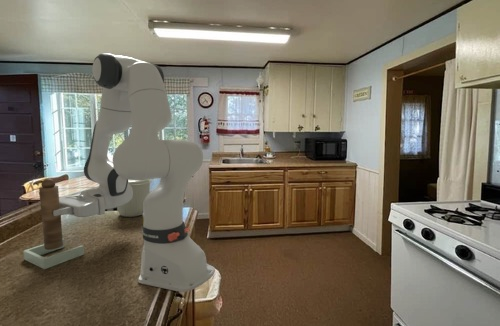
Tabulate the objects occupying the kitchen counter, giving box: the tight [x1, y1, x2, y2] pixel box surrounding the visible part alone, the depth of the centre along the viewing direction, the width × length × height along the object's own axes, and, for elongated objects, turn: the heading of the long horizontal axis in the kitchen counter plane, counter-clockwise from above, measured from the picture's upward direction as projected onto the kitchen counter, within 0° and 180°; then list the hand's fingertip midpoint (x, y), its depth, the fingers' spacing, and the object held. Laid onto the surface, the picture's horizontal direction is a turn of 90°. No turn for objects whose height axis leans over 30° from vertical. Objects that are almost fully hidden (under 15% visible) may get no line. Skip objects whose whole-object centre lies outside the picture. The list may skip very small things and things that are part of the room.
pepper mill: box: [38, 178, 64, 250], centre depth 92 cm, size 5×5×23 cm
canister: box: [116, 179, 152, 218], centre depth 140 cm, size 18×18×21 cm
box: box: [22, 237, 85, 270], centre depth 94 cm, size 13×12×3 cm
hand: (47, 211), depth 92 cm, fingers closed on pepper mill, 5 cm apart
